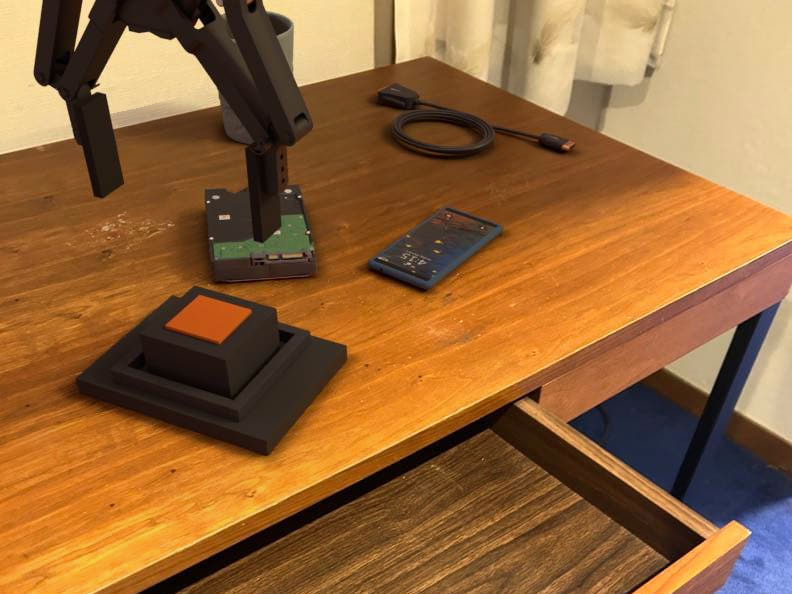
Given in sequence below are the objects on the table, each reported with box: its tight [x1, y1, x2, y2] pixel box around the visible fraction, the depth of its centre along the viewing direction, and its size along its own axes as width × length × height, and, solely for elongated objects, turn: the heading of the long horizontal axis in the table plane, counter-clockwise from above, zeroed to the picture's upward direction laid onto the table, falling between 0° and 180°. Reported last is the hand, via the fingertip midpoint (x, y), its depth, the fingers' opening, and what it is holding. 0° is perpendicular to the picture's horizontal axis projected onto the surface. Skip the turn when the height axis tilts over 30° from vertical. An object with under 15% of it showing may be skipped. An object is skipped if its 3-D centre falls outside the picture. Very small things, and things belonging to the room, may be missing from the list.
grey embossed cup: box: [216, 10, 295, 145], centre depth 103 cm, size 10×10×12 cm
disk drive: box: [204, 184, 318, 283], centre depth 88 cm, size 10×3×15 cm
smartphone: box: [367, 205, 504, 290], centre depth 88 cm, size 8×1×15 cm
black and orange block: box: [139, 285, 280, 400], centre depth 71 cm, size 8×8×4 cm
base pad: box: [74, 294, 348, 456], centre depth 72 cm, size 18×14×3 cm
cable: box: [376, 82, 576, 155], centre depth 107 cm, size 14×28×2 cm, turn 55°
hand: (186, 212), depth 63 cm, fingers open, 13 cm apart
